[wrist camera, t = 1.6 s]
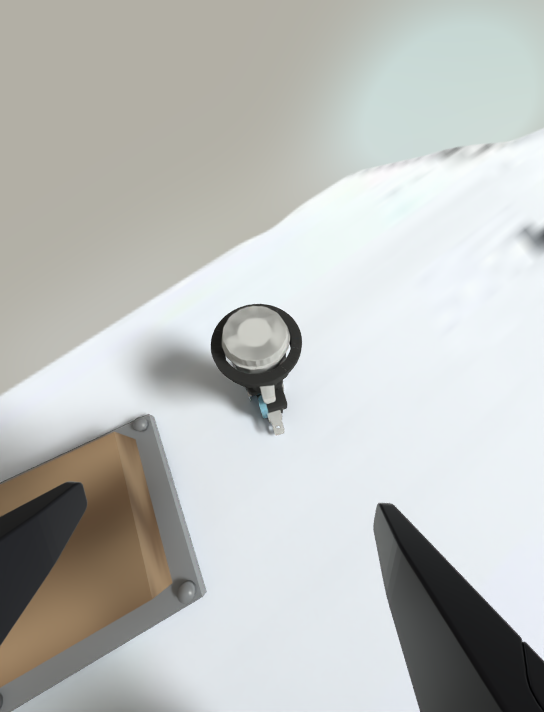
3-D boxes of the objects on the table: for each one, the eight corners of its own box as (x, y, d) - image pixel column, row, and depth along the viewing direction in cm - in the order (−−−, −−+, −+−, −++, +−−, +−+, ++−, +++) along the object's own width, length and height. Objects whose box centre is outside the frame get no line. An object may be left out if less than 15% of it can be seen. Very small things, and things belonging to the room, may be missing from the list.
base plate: (206, 591, 18) (199, 600, 17) (-3, 716, 16) (-31, 738, 14) (154, 416, 23) (145, 411, 22) (-8, 492, 21) (-29, 492, 20)
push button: (310, 426, 23) (326, 383, 14) (247, 445, 22) (222, 414, 13) (285, 357, 25) (285, 284, 17) (229, 373, 25) (198, 307, 16)
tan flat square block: (172, 582, 18) (152, 599, 15) (7, 678, 16) (-49, 716, 13) (135, 439, 22) (114, 431, 19) (1, 502, 20) (-43, 504, 17)
